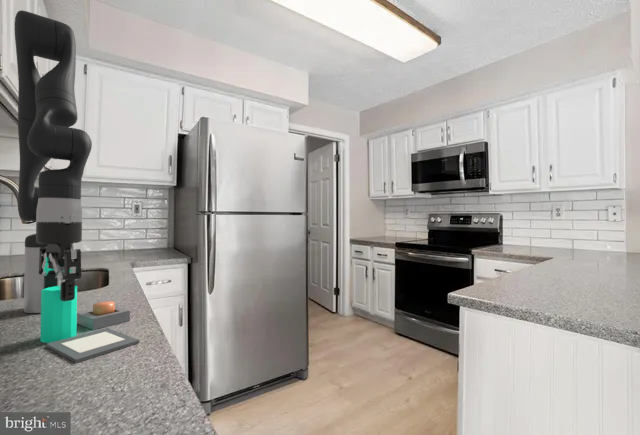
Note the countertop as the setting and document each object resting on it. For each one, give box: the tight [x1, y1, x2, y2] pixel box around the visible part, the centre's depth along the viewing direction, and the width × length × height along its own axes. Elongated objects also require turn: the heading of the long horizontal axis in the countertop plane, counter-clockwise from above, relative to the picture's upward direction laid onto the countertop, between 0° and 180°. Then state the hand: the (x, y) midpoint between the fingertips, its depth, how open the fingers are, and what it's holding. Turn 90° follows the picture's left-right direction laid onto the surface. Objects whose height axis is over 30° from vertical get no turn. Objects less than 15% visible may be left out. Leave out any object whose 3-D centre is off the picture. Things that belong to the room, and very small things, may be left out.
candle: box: [40, 280, 78, 344], centre depth 68 cm, size 6×6×12 cm
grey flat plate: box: [45, 327, 140, 364], centre depth 65 cm, size 13×11×1 cm
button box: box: [77, 305, 131, 331], centre depth 78 cm, size 8×8×2 cm
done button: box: [92, 300, 116, 316], centre depth 79 cm, size 4×4×3 cm
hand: (58, 297), depth 68 cm, fingers open, 8 cm apart
